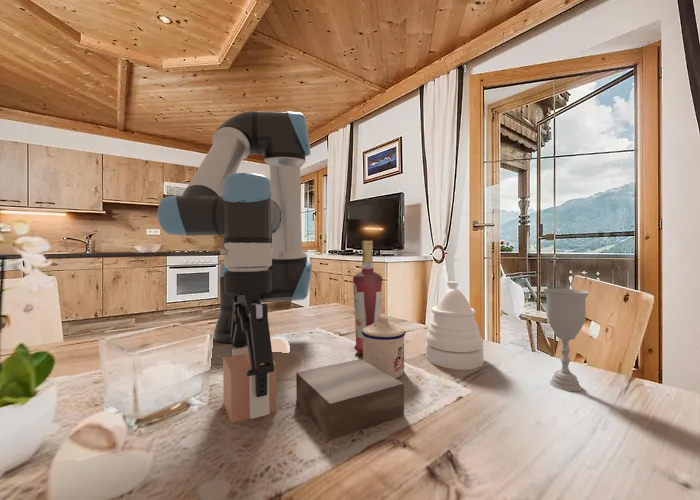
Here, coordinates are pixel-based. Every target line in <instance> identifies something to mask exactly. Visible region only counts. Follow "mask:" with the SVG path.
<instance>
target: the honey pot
mask: <svg viewBox="0 0 700 500" xmlns="http://www.w3.org/2000/svg"><path fill="white" fill-rule="evenodd" d="M458 284H459V281H446V285H447V287H448V290H447V291H446V292H445V293H444V294H443V295H442V297H441V299H440V300H439V302H438V304H437V305H435V306H432V307H431V308H430V311H431V312H432V313H433V317H432V319H431V320H430V323H429V327H428V331H427V333H426V336H425V340H426V341H425V359H426V360H427V361H428V362H429V363H431V364H433V365H435V366H438V367H440V368H441V367H442V368H445V369H449V370H472V369H477V368H480V367H482V366H483V364H484V348H483V347H484V340H483V337H482V335H481V330H480V328H479V323H478V322H477V321H476V318H475V314H476V310H475V309H474V308H473V307H471V306H470V303H469V301H468V299H467V298H466V296H465V295H464V294H463V292H462V291H460V290H459V289H457V287H458V286H459V285H458Z"/></svg>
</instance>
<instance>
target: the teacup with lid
mask: <svg viewBox="0 0 700 500" xmlns="http://www.w3.org/2000/svg"><path fill="white" fill-rule="evenodd" d="M362 334H363V355H362V360H363V361H365V362H367V363H368V364H370V365H372V366H374V367H376V368H377V369H379V370H381V371H383V372H384V373H386V374H388V375H390V376H392V377H393V378H395V379H398V378H399V379H400V378H401V377H402V376H403V375H404V374H405V335H406V332H405V329H404V328H403V327H402V326H399V325H397V324H395V323H393V322H391V321H389V318H388V317H387V316H381V317H379V321H377V322H375V323H373V324H372V325H368V326H366V327H364V328H363V330H362Z"/></svg>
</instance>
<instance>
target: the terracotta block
mask: <svg viewBox="0 0 700 500" xmlns="http://www.w3.org/2000/svg"><path fill="white" fill-rule="evenodd" d="M222 358H223V360H222V361H223V362H222V363H223V365H222V366H223V367H222V370H223V374H222V375H223V406H224V408H225V411H226V413H227V416H228V418H229V421H230V423H231V424H234V423H238V422H241V421H245V420H250V419H251V418H250V376H247V372H248V370H251V363H250V357H249V353H247V354H241V355H235V356H233V355H229V356H224V357H222ZM273 363H274V372H269V414H272V413H275V412H277V362H276V361H275V360H274V359H273ZM260 365H264V363H262V364H260Z"/></svg>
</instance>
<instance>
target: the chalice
mask: <svg viewBox="0 0 700 500" xmlns="http://www.w3.org/2000/svg"><path fill="white" fill-rule="evenodd" d="M543 292H544V294H545V296H546V317H547V321H548V323H549V325H550V327H551V329H552V330H553V333H554V334H555V336H556V338H558V339H560V340H561V343H562V344H561V348H560V351H561V354H562V355H561V357H560V358H559V360H560V361H561V365H562V366H561V368H560V370H556V371H555V372H553V376H551V379H550V381H549V384H550V385H551V386H553V387H554V388H557V389H560V390H564V391H570V392H578V391H579V392H580V391H582V386H581V385H580V382H579V380H578V377H577V376H576V375H575V374H574V372H571V370H570V368H569V364H570V363H571V362H572V360H571V359H570V357H569V354H570V353H571V349H570V347H569V346H570V345H569V342H570V341H572V340H575V339H576V338H577V336H578V334H579V333H580V331H581V329H582V328H583V326H584V323H585V321H586V319H587V318H586V313H587V311H586V307H587V306H586V302H587V301H586V298H587V297H588V295H589V294H590V292H589V291H587V290H580V289H572V288H544V289H543Z"/></svg>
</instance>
